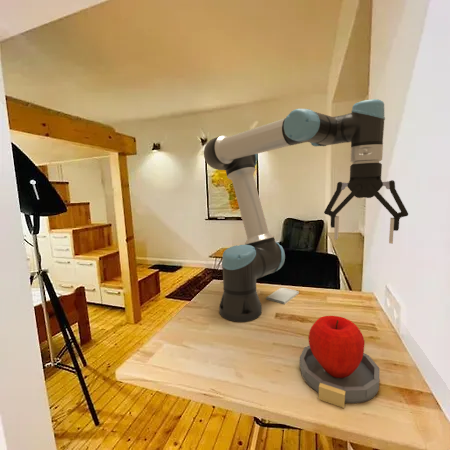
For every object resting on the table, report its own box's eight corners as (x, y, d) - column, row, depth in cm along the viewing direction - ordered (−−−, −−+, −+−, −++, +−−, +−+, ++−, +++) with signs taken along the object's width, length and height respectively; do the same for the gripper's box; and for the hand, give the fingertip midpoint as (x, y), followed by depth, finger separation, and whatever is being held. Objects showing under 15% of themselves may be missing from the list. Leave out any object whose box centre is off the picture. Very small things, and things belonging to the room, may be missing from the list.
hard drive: (284, 302, 101) (298, 290, 110) (265, 296, 106) (281, 286, 115) (284, 306, 101) (298, 294, 110) (265, 300, 106) (281, 290, 116)
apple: (298, 370, 64) (298, 318, 62) (326, 350, 71) (327, 303, 69) (345, 400, 55) (348, 340, 53) (372, 374, 62) (375, 320, 60)
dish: (290, 389, 60) (290, 377, 59) (309, 345, 75) (309, 335, 75) (378, 420, 51) (379, 406, 51) (379, 364, 67) (379, 353, 66)
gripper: (314, 165, 75) (313, 239, 78) (425, 158, 62) (418, 247, 66) (320, 166, 81) (318, 235, 84) (421, 160, 69) (415, 241, 72)
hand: (362, 240), depth 75 cm, fingers open, 13 cm apart
